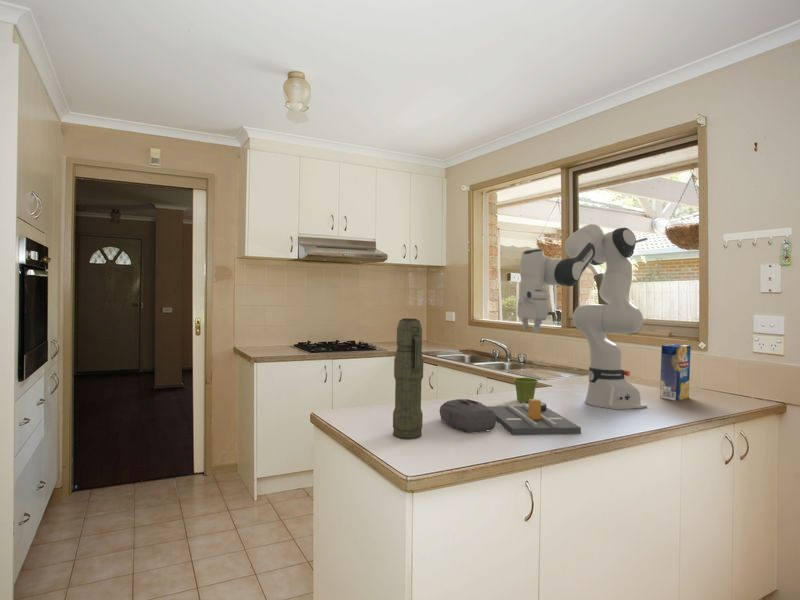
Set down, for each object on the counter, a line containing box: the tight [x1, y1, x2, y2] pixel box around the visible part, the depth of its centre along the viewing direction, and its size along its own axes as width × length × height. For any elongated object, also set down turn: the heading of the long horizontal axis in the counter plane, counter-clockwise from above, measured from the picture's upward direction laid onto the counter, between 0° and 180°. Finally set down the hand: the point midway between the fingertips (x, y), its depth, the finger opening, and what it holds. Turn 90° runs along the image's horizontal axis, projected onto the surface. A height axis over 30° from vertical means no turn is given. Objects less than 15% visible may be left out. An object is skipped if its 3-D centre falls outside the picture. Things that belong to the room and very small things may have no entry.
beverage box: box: [659, 343, 692, 402], centre depth 211 cm, size 7×11×22 cm, turn 127°
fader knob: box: [527, 398, 542, 420], centre depth 164 cm, size 3×3×6 cm
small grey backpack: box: [438, 398, 497, 433], centre depth 164 cm, size 15×8×20 cm
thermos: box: [392, 317, 424, 440], centre depth 150 cm, size 9×12×35 cm
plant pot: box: [513, 377, 539, 404], centre depth 199 cm, size 9×9×9 cm
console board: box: [486, 401, 582, 436], centre depth 168 cm, size 22×28×4 cm
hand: (530, 331), depth 184 cm, fingers open, 8 cm apart
